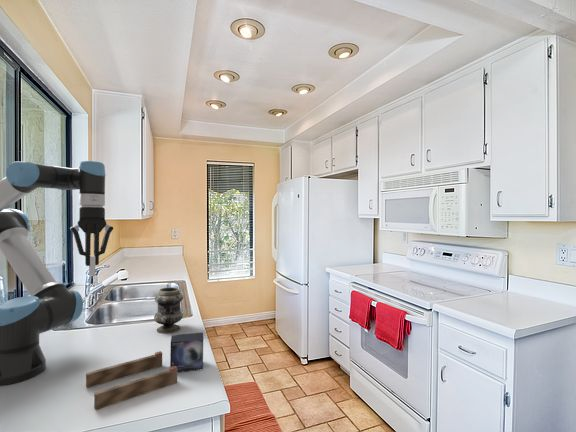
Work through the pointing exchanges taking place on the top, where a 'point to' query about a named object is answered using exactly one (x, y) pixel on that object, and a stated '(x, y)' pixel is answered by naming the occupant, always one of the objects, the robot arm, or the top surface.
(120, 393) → the chute
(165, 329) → the apothecary jar
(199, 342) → the small box
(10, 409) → the top surface
